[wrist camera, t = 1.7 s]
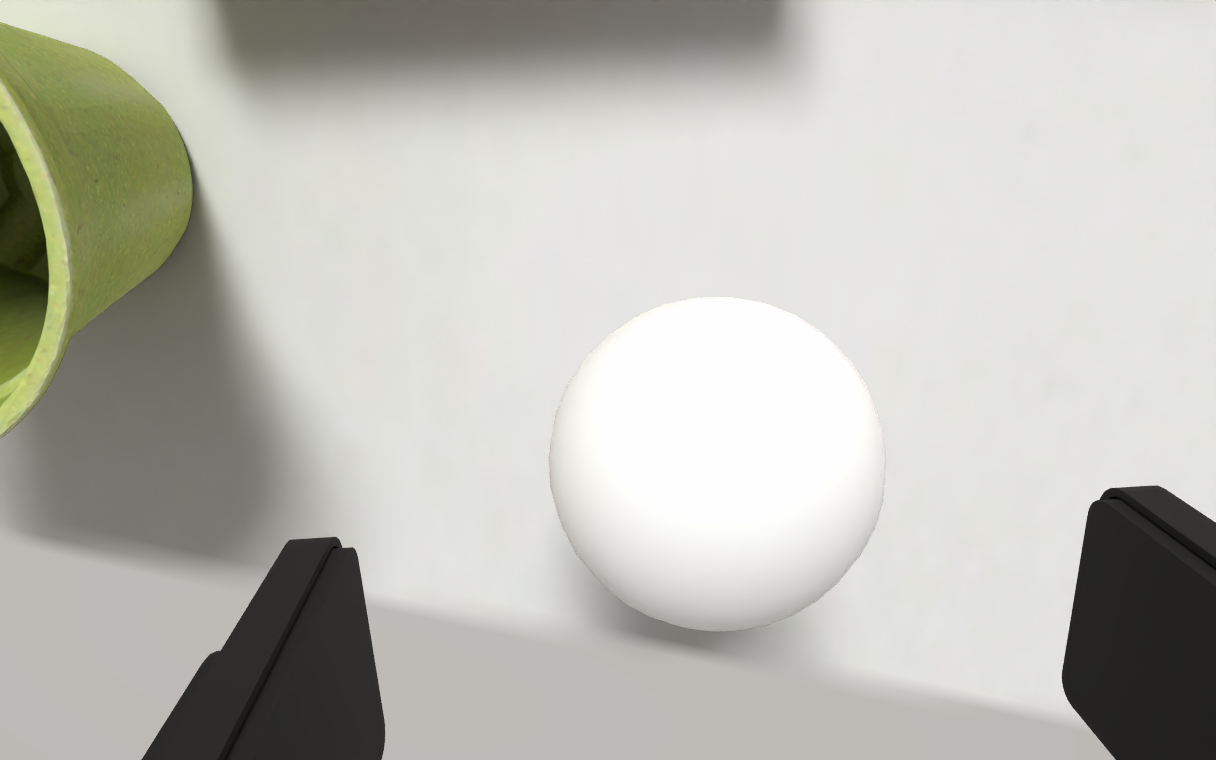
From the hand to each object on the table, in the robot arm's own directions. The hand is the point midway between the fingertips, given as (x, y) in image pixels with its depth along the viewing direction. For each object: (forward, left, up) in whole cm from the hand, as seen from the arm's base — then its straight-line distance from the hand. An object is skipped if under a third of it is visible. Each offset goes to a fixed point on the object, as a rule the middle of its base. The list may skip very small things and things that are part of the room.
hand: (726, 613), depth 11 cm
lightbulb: (-1, 0, -13) cm, 13 cm away
